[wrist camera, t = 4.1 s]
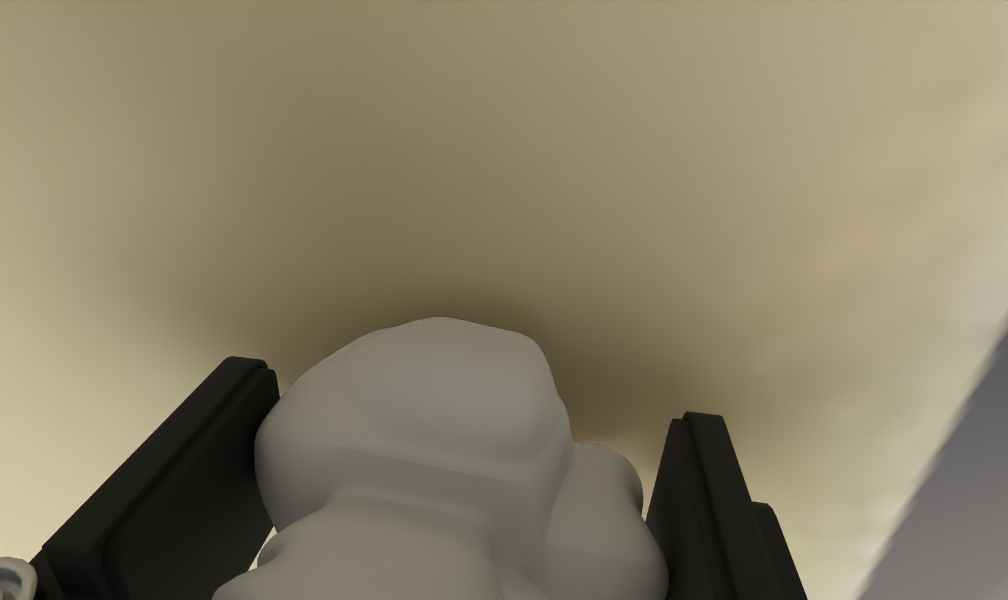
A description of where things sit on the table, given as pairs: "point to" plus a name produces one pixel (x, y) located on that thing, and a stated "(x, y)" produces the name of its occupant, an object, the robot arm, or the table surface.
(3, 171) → the table surface
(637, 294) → the table surface
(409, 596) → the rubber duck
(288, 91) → the table surface
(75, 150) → the table surface
